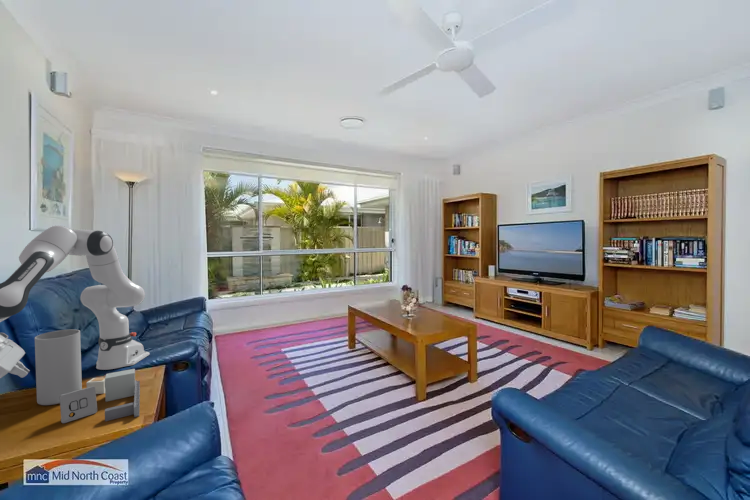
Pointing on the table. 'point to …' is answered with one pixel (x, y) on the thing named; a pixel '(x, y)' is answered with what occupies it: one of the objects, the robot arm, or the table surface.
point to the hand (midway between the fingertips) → (26, 374)
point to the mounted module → (119, 384)
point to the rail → (137, 399)
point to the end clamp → (119, 411)
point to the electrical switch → (78, 404)
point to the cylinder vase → (57, 365)
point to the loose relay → (97, 384)
